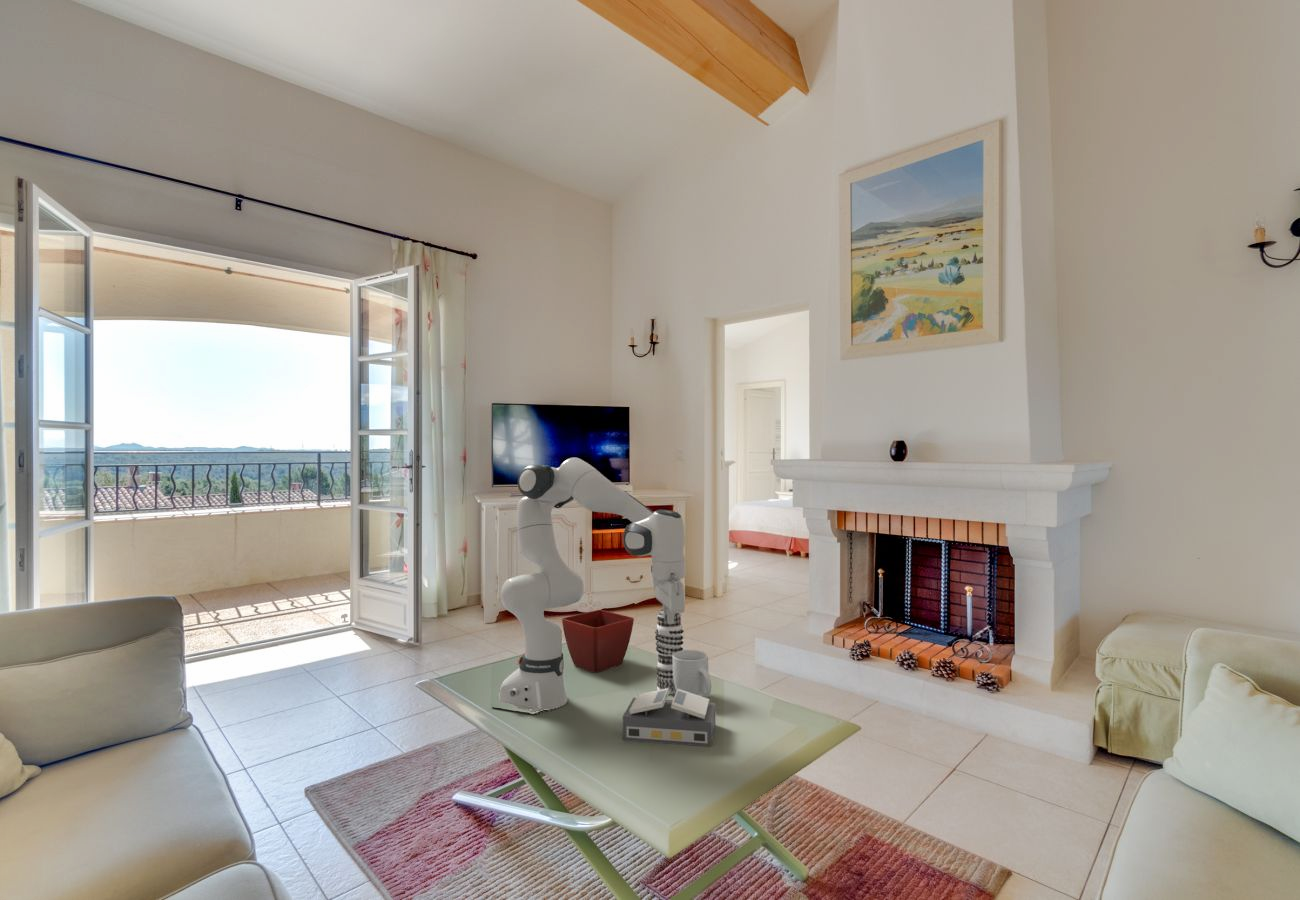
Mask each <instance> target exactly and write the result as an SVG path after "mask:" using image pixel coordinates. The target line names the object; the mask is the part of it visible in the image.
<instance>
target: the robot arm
mask: <svg viewBox="0 0 1300 900" xmlns="http://www.w3.org/2000/svg"><path fill="white" fill-rule="evenodd" d="M517 487H518V491H519V492H520V493H521V494H522V495H523V497H522V498H521V499H519V501H518V503H517V505H516V531H517V540H518V548H519V553H520V557H521V558H523V560H525V561H526V562H528V563H531V564H533V565H535V567H536V568H538V571H539V573H538V572H536V573H528V574H519V575H517V576H513V577H510V578H508V579H506V580H505V581H504V582H503V584H502V586H501V590H500V595H499V596H500V601H501V603H502V605H503V607H504V609H506V610H507V611H508V612H510V613H511V614H513V615H514V617H516V619H517V620H518V621H519V622H520V625H521V627H522V630H523V638H524V640H523V641H524V653H522V656H520V657H519V659H518V660H517V664H516V665H517V666H519V667H517V669H515V670H514V671H513V672H512V673H510V674H509V675H508V676H506V678H505V679H504V680H503V682H502V683H501V685H500V689H499V693H498V694H499V701H501V702H505V703H509V704H513V705H515V706H516V707H517V706H518V707H517V708H519V709H522V710H526V711H530V712H536V711H541V710H544V709H553V710H555V709H554V708H556V709H559V708H561V707H564V706H565V705H566V704H567V702H568V699H569V698H568V696H567V693H566V687H565V684H564V683H565V682H564V676H563V675H564V674H563V673H564V667H565V666H564V665H565V664H564V663H565V662H564V661H565V660H564V653H563V646H562V645H563V644H562V643H563V642H562V640H563V639H562V637H563V635H562V634H563V633H562V629H561V627H560V625H559V624H558V623H557V622H555V621H553V620H551V619H547V618H545V614H544V613H545V612H544V611H545V610H549V609H556V608H563V607H568V606H570V605H573V604H575V603H577V602H579V601H580V600H581V598H582V596H583V594H584V589H585V586H584V585H585V584H584V581H583V579H582V577H581V575H580V574H579V573H578V572H576V571H575V570H573V569H571V568H570V567H569V566H568V565H567V564H566V563H565V561H564V560H563V559H562V557H561V555H560V554H559V551H558V549H557V544H556V539H555V534H554V533H555V532H554V527H553V521H552V511H553V509H554V508H555V509H561V508H562V507H563V506H564V505H566V504H568V503H571V502H572V501H574V500H575V501H576V502H577V503H578V504H579V505H580V506H581V507H583V508H585V509H587V510H588V511H590V512H596V513H608V514H613V515H614V514H615V515H619V516H621V517H623V518H626V519H627V520H629V521H630V522H631V523H629V524H627V525H626V527H625V528H624V531H623V532H622V542H623V543H622V544H623V546H624V548H625V550H626V552H627V553H629V554H630V555H631V556H634V557H645V556H651V566H650V572H651V576H652V578H653V579H652V581H653V592H654V597H655V598H656V600H657V601H658V602H659V603H661V604H662V609H663V611H664V620H665V621H666V622H667V623H668V624H674V616H675V613H680V614H682V613H683V614H684V612H685V608H686V607H685V604H686V603H685V590H684V589H685V587H684V585H683V582H682V581H681V579H684V578H685V577H686V557H685V555H684V548H685V544H686V543H685V539H686V538H685V535H686V534H685V525H684V520H683V517H682V515H681V514H680V513H678V512H677V511H674V510H671V509H669V510H668V509H657V510H655V511H653V510H652V509H650V508H649V507H647V506H646V505H645V504H643V503H642V502H641V501H639V500H638V499H636V498H635V497H634V496H633V495H631V494H629V493H628V492H626V491H625V490H623V489H622V488H620V487H619V486H617V485H616V484H615V483H614V482H612V481H611V480H610V479H608V478H607V477H606V476H604V474H602V473H601V472H600V471H599V470H597V468H595V467H594V466H592V465H591V464H589V463H588V462H586V460H585V461H584V460H583V459H581V458H579V457H570V458H567V459H566V460H564V461H563V462H562V463H561V464H560V466H559V467H554V466H550V465H544V464H531V465H527V466H526V467H524V468H523V469H522V470H521V471H520V472H519V475H518V479H517ZM560 706H561V707H560ZM558 707H559V708H558ZM527 709H528V710H527ZM529 709H532V710H529Z"/></svg>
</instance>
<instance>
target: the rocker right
mask: <svg viewBox="0 0 1300 900" xmlns="http://www.w3.org/2000/svg"><path fill="white" fill-rule="evenodd" d="M672 700H673V702H672V705H671V708H673V709H676V710H679V711H682V712H685V713H688V714H691V715H694V716H697V717H700V718H703V719H705V715H706V711H707V707H708V702H710V698H707V697H702V696H699V695H696V694H693V693H690V692H687V691H684V690H681V689H677V692H676V694H674V697H673V699H672Z"/></svg>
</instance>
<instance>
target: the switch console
mask: <svg viewBox="0 0 1300 900" xmlns="http://www.w3.org/2000/svg"><path fill="white" fill-rule="evenodd" d="M635 699H636V697H633V698H632V699H631V701H630V703H629V705H628V707H627V708H626V710H625V712H624V713H623V715H622V740H623V741H633V742H646V743H657V744H658V743H659V744H672V745H683V746H684V745H685V746H696V747H709V748H710V747H712V745H713V739H714V736H715V730H716V702H710V701H709V702H708V707H707V711H706V715H705V719H703V718H700V717H697V716H694V715H691V714H688V713H685V712H682V711H679V710H676V709H673V708H671V705H672V702H673V699H666V701H665V703H664V706H663V707H662V708H657V709H652V710H647V711H643V712H638V713H633V714H630V711H629V710H630V708H631V706H632V704H633V703H634V701H635Z"/></svg>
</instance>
